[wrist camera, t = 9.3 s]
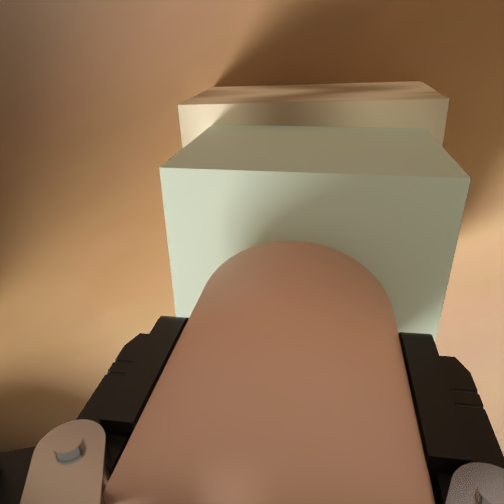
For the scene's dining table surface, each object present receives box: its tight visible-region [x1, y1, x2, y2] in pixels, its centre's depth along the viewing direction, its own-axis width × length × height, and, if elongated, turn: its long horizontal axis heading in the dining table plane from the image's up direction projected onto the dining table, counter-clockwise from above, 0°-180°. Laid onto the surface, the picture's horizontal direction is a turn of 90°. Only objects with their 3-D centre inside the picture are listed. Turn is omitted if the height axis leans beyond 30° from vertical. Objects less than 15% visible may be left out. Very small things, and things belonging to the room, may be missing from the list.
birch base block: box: [178, 81, 450, 148], centre depth 21 cm, size 10×10×6 cm
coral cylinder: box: [103, 241, 436, 504], centre depth 10 cm, size 6×6×6 cm
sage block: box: [159, 124, 471, 342], centre depth 16 cm, size 8×8×6 cm
